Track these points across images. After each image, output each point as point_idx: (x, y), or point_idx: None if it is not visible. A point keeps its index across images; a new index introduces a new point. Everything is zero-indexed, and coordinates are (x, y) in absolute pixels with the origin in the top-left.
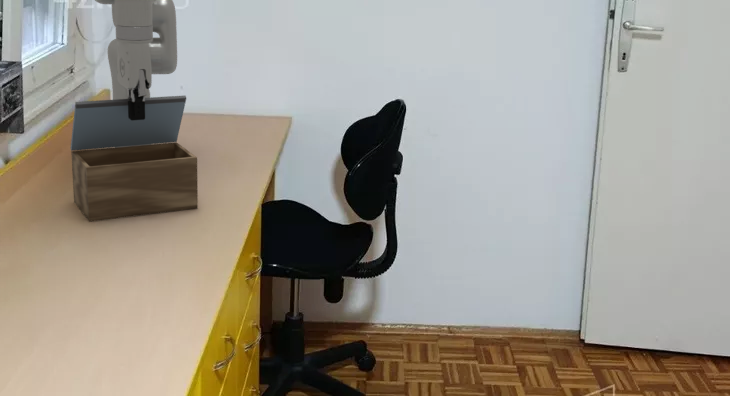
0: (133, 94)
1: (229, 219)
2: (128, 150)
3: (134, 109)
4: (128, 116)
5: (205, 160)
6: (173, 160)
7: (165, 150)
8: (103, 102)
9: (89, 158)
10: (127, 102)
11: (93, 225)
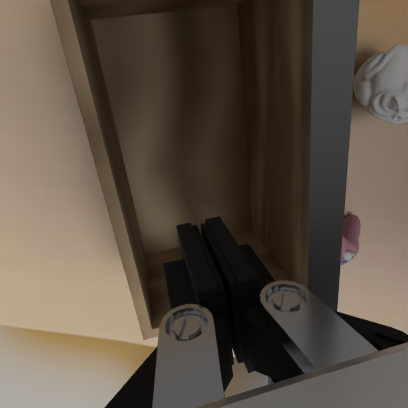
0: (155, 396)
1: (63, 305)
2: (296, 163)
3: (174, 285)
4: (219, 219)
5: (401, 288)
6: (128, 282)
7: (292, 259)
8: (318, 54)
9: (287, 24)
10: (309, 257)
11: (48, 18)
